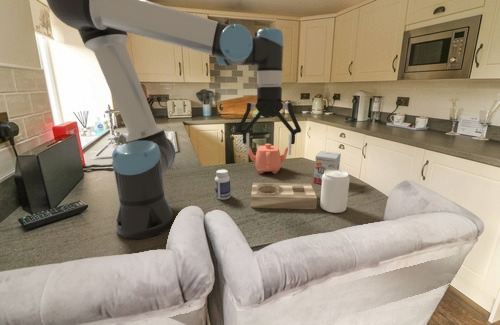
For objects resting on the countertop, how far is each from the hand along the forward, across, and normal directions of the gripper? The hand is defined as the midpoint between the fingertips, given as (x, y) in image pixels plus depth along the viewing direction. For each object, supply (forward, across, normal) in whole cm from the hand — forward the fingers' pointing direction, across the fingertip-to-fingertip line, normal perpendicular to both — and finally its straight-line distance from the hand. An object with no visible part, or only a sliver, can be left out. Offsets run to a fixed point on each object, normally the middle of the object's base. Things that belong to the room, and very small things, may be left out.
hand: (268, 153), depth 83 cm
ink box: (+17, -24, -19) cm, 35 cm away
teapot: (+17, 0, -32) cm, 36 cm away
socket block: (+17, -5, 0) cm, 17 cm away
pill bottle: (+17, +16, -2) cm, 23 cm away
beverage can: (+17, -21, +5) cm, 27 cm away
